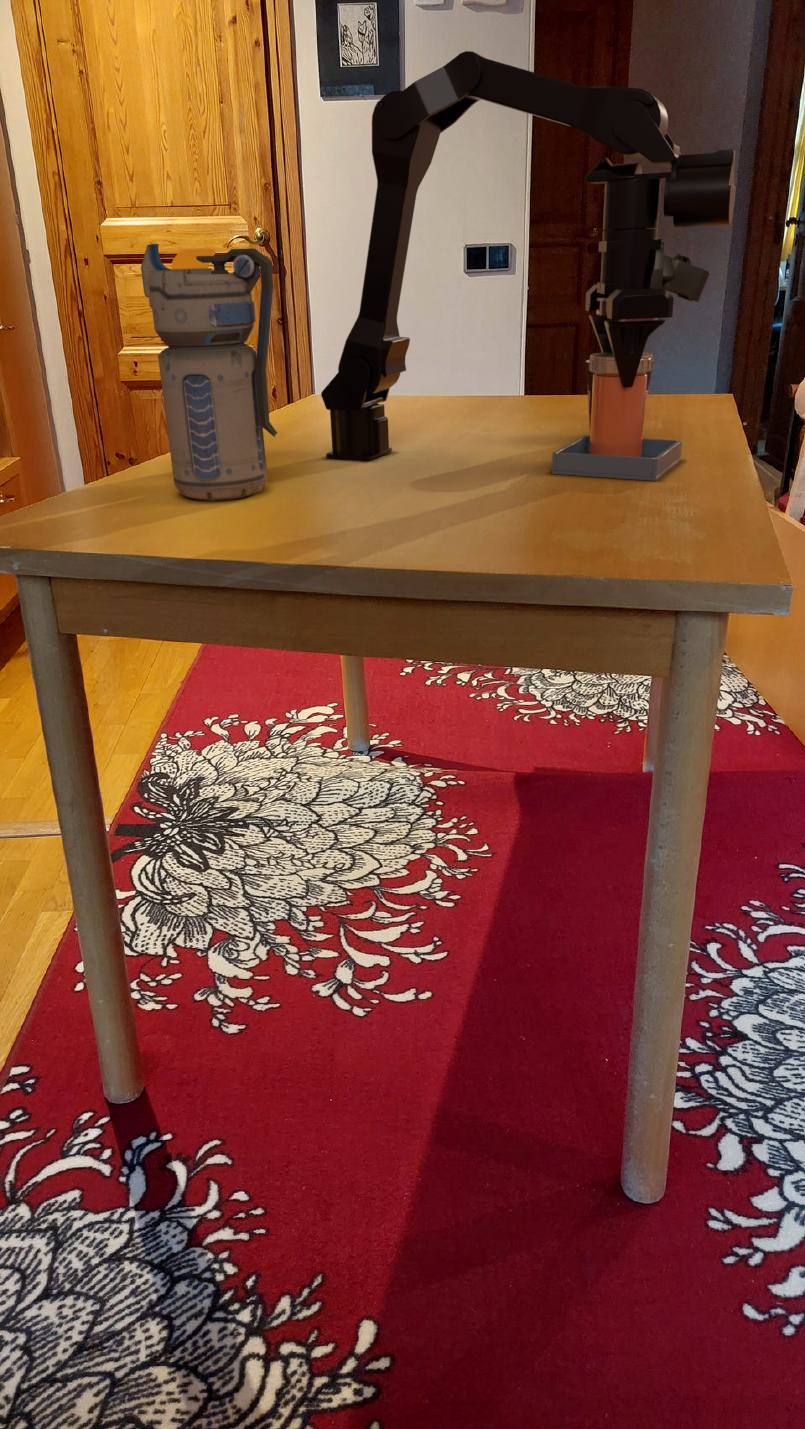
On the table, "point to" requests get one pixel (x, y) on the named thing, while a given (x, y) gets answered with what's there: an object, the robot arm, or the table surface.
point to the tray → (617, 460)
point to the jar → (617, 415)
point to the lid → (608, 366)
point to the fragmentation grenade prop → (213, 370)
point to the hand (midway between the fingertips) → (621, 383)
